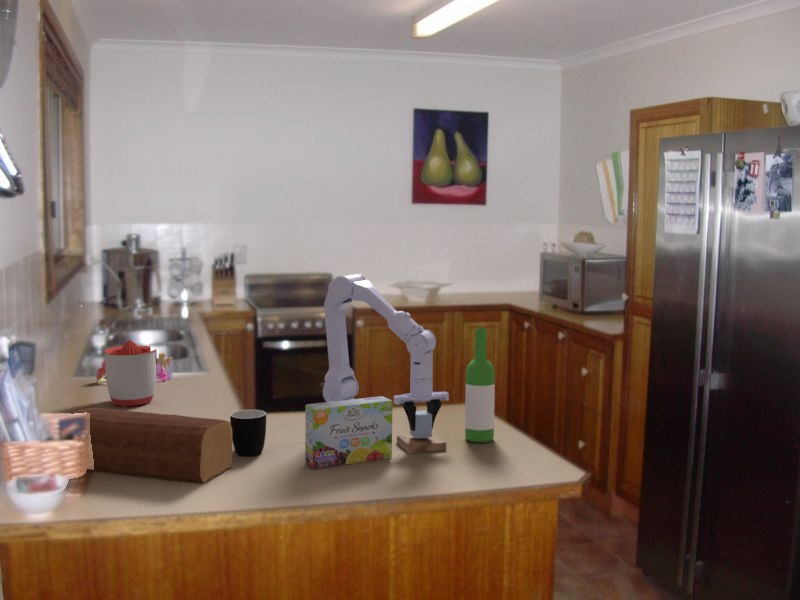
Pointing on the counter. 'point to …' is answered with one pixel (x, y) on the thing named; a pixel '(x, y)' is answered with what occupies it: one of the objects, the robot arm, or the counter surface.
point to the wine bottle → (480, 393)
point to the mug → (248, 431)
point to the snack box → (348, 431)
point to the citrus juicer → (131, 374)
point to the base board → (421, 443)
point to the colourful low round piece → (161, 370)
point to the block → (422, 425)
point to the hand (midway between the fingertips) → (421, 429)
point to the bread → (159, 445)
